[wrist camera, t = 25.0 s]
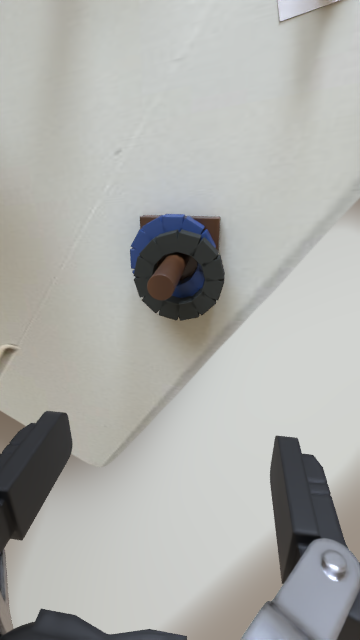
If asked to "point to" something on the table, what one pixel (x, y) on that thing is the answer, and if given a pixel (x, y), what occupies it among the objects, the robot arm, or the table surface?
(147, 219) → the stand
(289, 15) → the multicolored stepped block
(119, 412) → the table surface
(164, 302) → the charcoal ring
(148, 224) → the navy ring
